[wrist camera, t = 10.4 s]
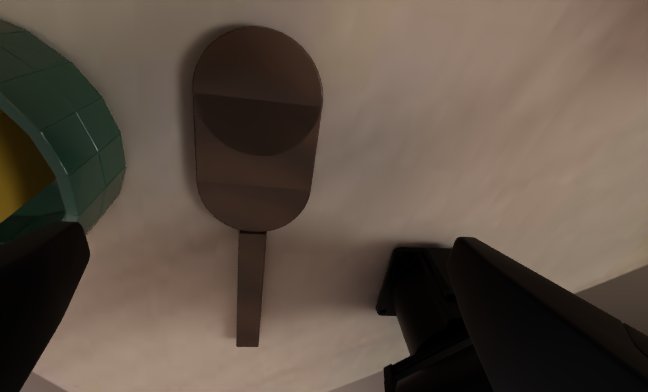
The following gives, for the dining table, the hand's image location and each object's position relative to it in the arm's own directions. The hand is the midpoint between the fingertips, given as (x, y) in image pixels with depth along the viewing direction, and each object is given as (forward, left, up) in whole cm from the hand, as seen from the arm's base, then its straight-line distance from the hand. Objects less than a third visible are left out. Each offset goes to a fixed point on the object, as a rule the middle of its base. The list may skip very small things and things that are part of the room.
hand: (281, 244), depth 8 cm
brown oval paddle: (-7, +1, -12) cm, 14 cm away
